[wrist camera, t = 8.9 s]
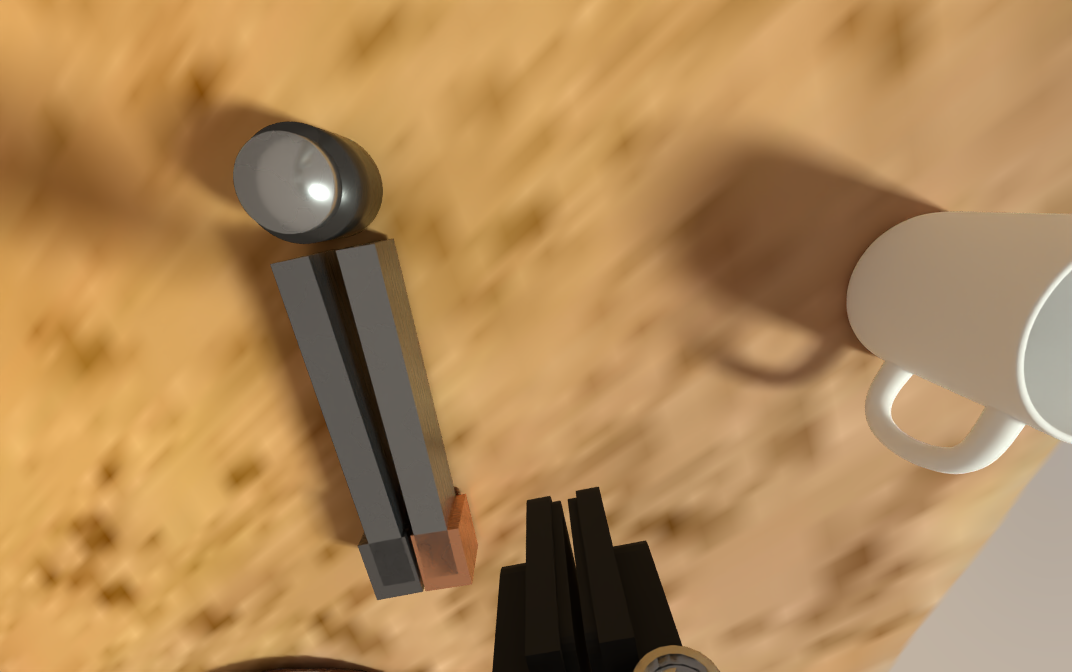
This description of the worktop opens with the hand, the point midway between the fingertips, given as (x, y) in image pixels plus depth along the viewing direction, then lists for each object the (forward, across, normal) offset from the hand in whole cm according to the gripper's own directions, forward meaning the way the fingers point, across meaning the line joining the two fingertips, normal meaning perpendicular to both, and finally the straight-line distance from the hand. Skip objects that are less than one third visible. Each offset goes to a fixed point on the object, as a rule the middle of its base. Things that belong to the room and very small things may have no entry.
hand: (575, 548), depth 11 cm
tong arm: (+16, +9, 0) cm, 19 cm away
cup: (+17, -19, +3) cm, 26 cm away
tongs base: (+17, +9, -1) cm, 19 cm away
